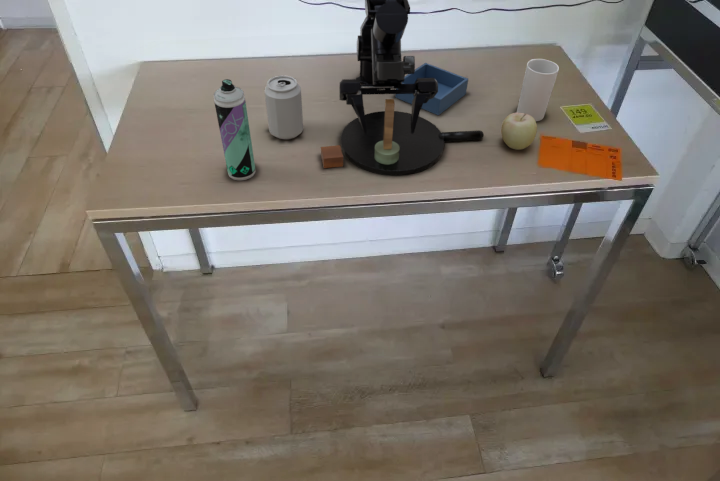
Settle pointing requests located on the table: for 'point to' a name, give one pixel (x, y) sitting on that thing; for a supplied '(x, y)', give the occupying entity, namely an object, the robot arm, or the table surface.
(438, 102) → the bin
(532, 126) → the fruit
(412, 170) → the griddle pan
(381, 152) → the dish brush
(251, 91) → the table surface
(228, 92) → the spray can
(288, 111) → the can
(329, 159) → the reddish brown square block
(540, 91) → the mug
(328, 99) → the table surface
